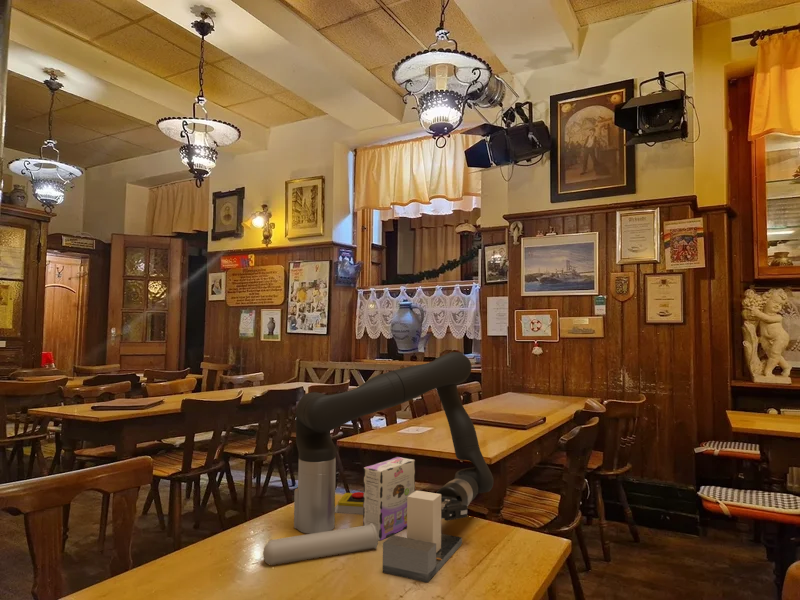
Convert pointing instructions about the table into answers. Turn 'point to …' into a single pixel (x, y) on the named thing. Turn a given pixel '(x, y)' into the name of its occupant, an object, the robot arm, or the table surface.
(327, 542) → the tube
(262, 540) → the table surface
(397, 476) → the candy box
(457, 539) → the grey base block
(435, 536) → the block
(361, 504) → the emergency button
